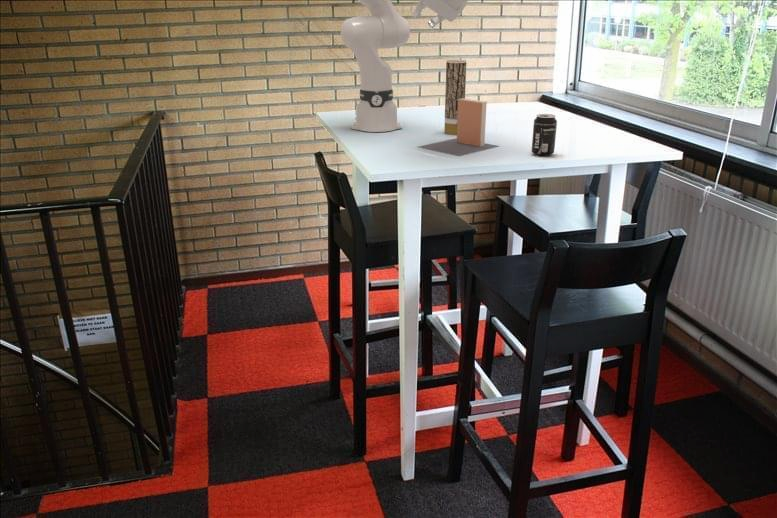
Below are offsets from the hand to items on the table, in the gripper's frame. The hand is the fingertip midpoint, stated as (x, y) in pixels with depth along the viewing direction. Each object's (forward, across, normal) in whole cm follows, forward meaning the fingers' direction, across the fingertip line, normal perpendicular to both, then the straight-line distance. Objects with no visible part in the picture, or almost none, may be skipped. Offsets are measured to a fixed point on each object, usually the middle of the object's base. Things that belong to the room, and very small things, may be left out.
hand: (422, 21), depth 196 cm
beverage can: (+2, -26, +48) cm, 54 cm away
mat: (+20, -20, +29) cm, 40 cm away
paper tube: (+23, -38, +16) cm, 47 cm away
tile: (+17, -26, +28) cm, 42 cm away
